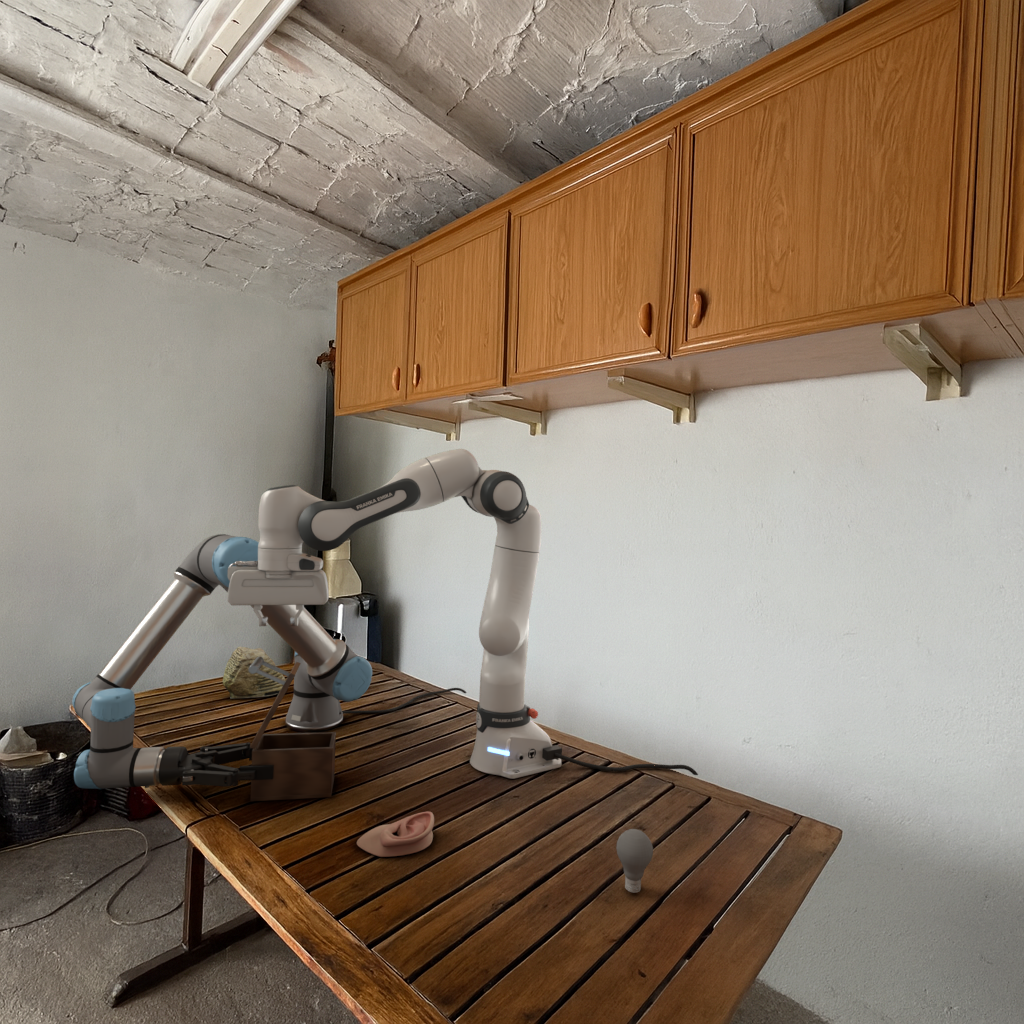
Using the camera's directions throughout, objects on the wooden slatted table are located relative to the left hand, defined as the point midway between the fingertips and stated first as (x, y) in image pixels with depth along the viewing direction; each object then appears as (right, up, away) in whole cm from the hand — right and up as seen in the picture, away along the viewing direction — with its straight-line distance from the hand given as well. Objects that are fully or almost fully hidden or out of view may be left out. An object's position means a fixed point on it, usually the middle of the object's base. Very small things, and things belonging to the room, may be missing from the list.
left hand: (277, 761), depth 136 cm
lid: (0, +12, 0) cm, 12 cm away
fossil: (-30, -4, +62) cm, 69 cm away
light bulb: (+71, -10, -30) cm, 77 cm away
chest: (+3, -6, +1) cm, 7 cm away
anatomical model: (+29, -8, -18) cm, 35 cm away
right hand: (+1, +29, -1) cm, 29 cm away
